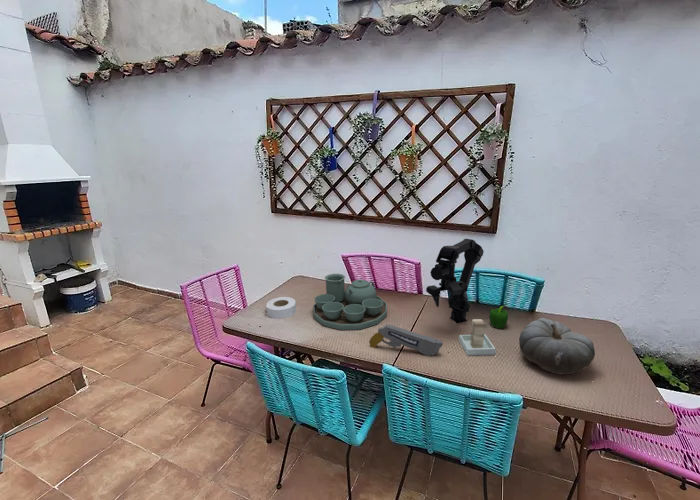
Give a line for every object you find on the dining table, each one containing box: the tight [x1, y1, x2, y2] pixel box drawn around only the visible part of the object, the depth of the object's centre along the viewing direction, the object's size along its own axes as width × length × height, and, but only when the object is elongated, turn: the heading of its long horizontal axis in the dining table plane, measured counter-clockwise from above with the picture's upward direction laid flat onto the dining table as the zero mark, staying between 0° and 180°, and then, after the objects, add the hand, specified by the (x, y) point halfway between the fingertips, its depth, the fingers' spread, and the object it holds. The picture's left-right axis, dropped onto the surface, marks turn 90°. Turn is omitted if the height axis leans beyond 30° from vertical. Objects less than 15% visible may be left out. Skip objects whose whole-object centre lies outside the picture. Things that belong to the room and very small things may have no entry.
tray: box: [458, 333, 497, 357], centre depth 147 cm, size 12×12×3 cm
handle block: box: [470, 318, 486, 348], centre depth 146 cm, size 4×4×12 cm
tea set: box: [312, 273, 388, 331], centre depth 181 cm, size 40×40×16 cm
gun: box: [368, 324, 444, 357], centre depth 146 cm, size 4×28×17 cm, turn 74°
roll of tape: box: [266, 296, 297, 320], centre depth 185 cm, size 16×16×6 cm
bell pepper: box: [488, 305, 509, 329], centre depth 163 cm, size 8×8×10 cm
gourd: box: [518, 317, 596, 375], centre depth 134 cm, size 25×25×17 cm
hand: (446, 305), depth 159 cm, fingers open, 9 cm apart
